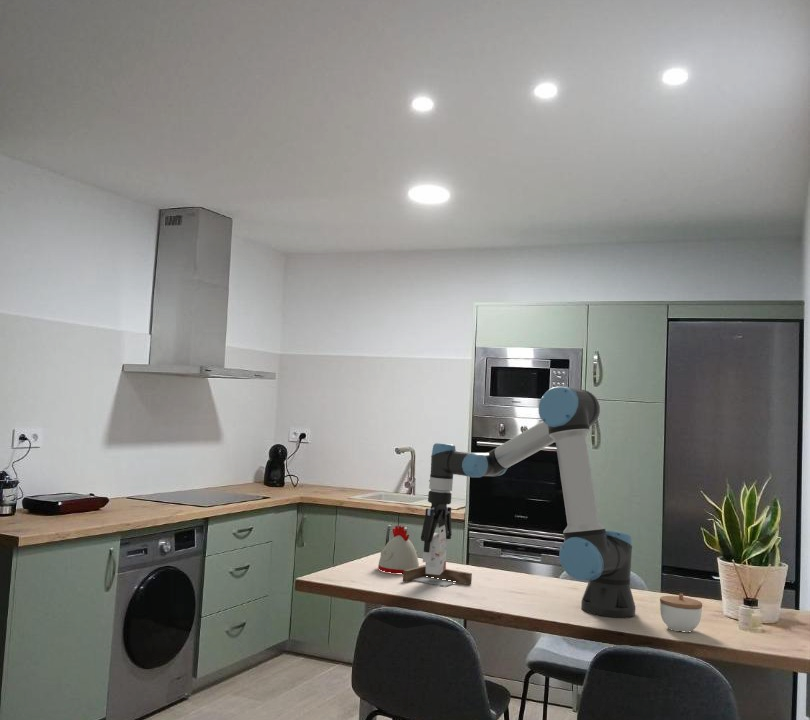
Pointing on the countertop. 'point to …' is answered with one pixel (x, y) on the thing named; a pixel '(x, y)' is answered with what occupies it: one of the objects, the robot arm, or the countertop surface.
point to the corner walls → (446, 574)
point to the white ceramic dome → (398, 553)
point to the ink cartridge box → (438, 553)
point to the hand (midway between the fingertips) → (434, 560)
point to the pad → (434, 581)
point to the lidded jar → (680, 612)
